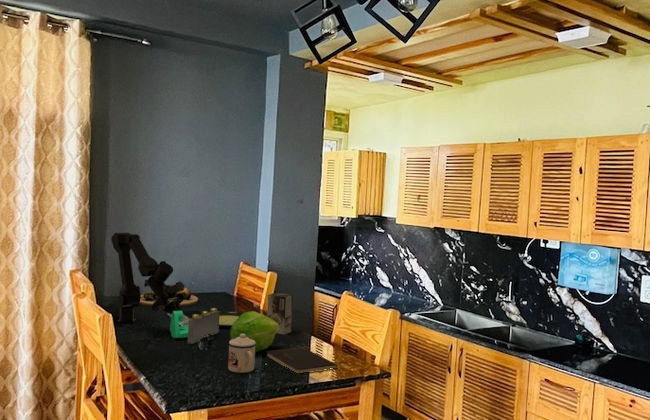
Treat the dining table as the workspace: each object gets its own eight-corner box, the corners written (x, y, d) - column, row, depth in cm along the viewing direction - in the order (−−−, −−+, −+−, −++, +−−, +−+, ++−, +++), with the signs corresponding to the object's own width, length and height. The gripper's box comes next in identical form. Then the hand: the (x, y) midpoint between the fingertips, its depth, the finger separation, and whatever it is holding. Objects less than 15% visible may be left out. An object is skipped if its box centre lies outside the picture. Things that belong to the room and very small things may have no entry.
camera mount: (195, 339, 218) (196, 313, 218) (175, 340, 215) (176, 314, 214) (188, 332, 229) (189, 307, 229) (169, 333, 225) (170, 308, 225)
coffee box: (291, 332, 238) (293, 294, 238) (284, 335, 232) (286, 296, 232) (273, 328, 242) (275, 292, 241) (265, 331, 236) (267, 294, 236)
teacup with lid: (222, 366, 185) (224, 332, 185) (247, 363, 190) (249, 329, 190) (237, 377, 175) (239, 341, 175) (263, 373, 180) (265, 338, 180)
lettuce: (287, 350, 209) (289, 318, 205) (240, 365, 198) (241, 332, 193) (268, 332, 220) (270, 302, 216) (222, 346, 209) (222, 314, 205)
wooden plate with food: (151, 295, 307) (152, 280, 307) (206, 299, 303) (207, 284, 303) (123, 305, 276) (123, 289, 276) (184, 310, 271) (184, 293, 271)
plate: (271, 321, 257) (271, 316, 257) (237, 333, 231) (237, 327, 231) (221, 313, 268) (221, 308, 268) (183, 324, 243) (184, 318, 243)
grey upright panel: (193, 343, 211) (194, 316, 211) (187, 343, 212) (188, 315, 212) (218, 332, 230) (219, 307, 230) (213, 331, 231) (214, 307, 231)
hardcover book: (296, 376, 181) (296, 369, 181) (265, 357, 200) (265, 351, 200) (337, 370, 189) (337, 363, 189) (303, 352, 209) (304, 346, 209)
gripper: (158, 278, 216) (181, 309, 213) (184, 273, 234) (206, 301, 231) (140, 296, 219) (163, 327, 216) (167, 289, 237) (189, 318, 234)
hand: (181, 317), depth 224 cm, fingers closed
